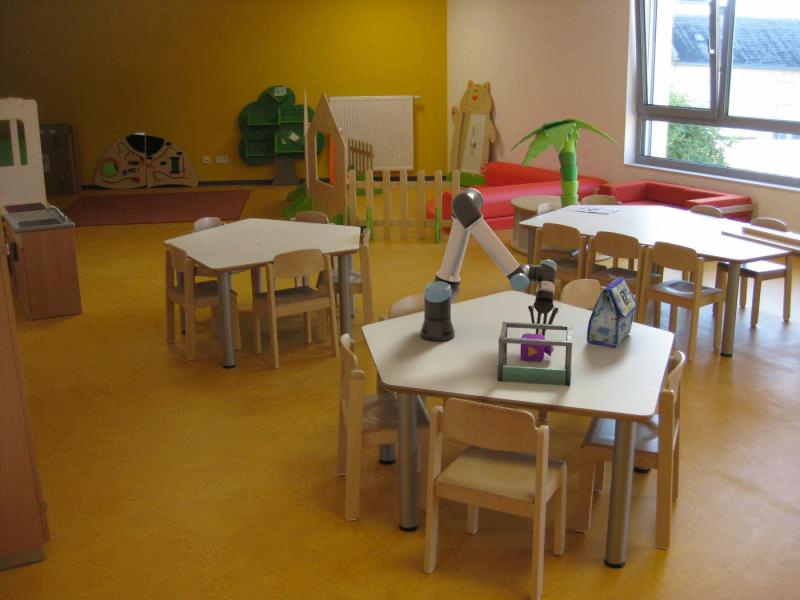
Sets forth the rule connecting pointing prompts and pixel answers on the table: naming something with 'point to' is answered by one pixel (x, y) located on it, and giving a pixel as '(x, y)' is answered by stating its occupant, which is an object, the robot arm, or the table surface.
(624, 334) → the lunch bag
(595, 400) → the table surface
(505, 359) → the frame
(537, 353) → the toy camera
